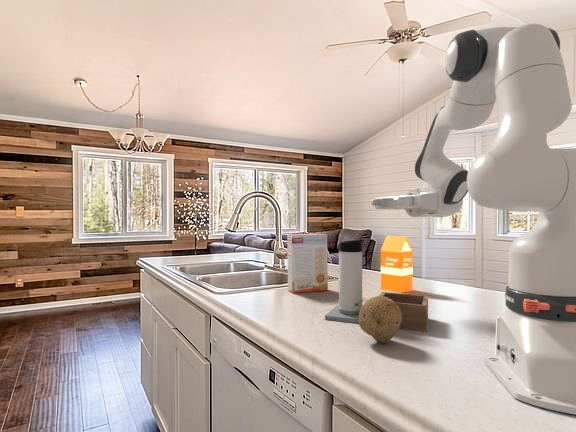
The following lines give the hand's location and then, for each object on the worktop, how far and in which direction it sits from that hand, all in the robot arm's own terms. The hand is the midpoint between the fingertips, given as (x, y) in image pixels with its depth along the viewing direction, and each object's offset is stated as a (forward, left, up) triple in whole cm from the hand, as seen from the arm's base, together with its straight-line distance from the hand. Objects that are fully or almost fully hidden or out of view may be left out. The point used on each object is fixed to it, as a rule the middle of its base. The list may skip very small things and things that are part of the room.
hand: (384, 201), depth 103 cm
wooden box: (-9, -6, -32) cm, 33 cm away
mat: (-9, +8, -32) cm, 34 cm away
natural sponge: (-27, -3, -32) cm, 42 cm away
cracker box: (+18, +30, -32) cm, 47 cm away
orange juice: (+33, 0, -32) cm, 45 cm away
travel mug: (-10, +7, -31) cm, 33 cm away
